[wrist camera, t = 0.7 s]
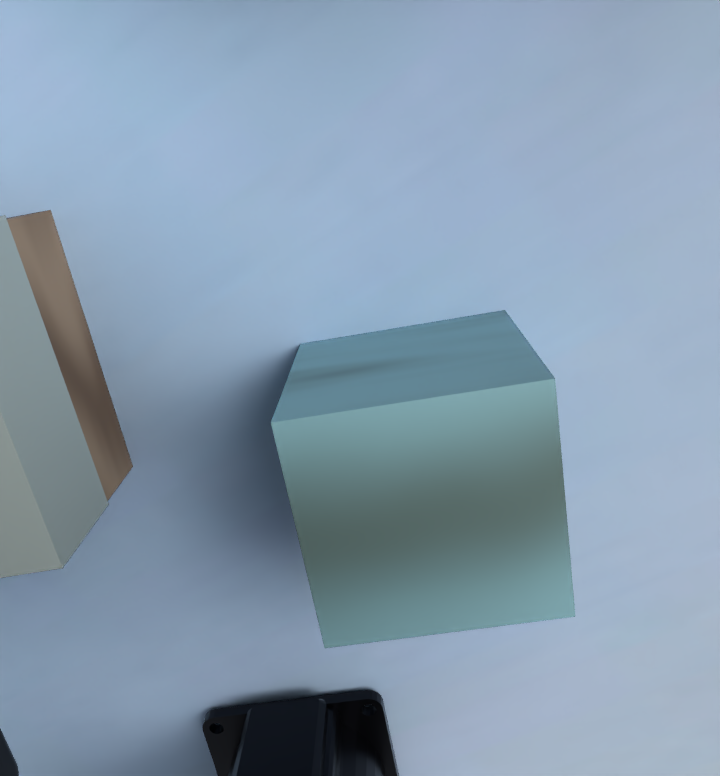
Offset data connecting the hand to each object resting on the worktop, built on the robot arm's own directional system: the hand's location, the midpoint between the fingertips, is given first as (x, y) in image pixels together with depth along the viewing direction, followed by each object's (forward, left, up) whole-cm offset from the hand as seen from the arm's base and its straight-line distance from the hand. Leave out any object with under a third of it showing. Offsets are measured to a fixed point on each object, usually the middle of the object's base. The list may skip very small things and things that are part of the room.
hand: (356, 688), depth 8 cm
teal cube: (-2, -1, -13) cm, 13 cm away
